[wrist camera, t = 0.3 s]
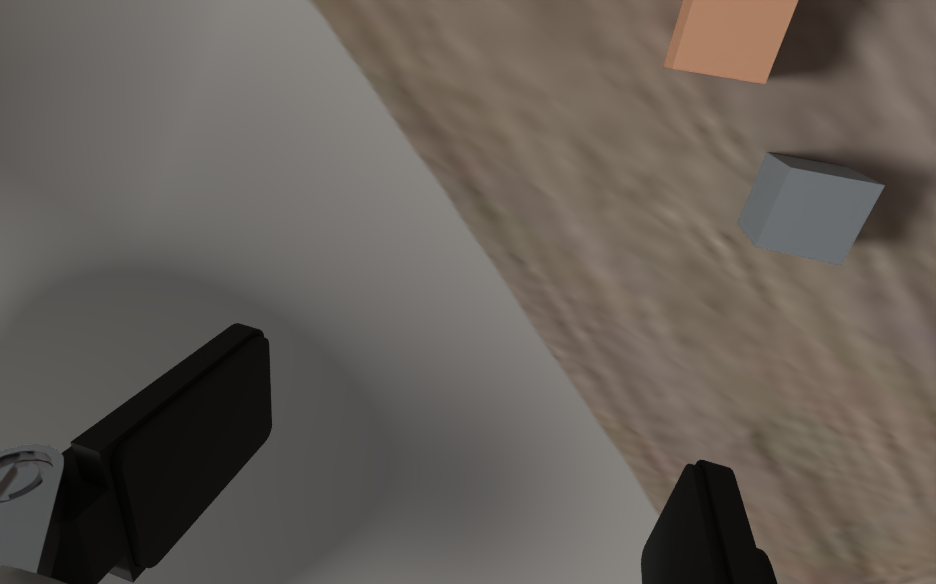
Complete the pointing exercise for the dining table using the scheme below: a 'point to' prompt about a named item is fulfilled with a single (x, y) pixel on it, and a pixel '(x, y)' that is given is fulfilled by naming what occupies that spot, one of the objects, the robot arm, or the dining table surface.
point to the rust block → (729, 37)
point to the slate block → (807, 207)
